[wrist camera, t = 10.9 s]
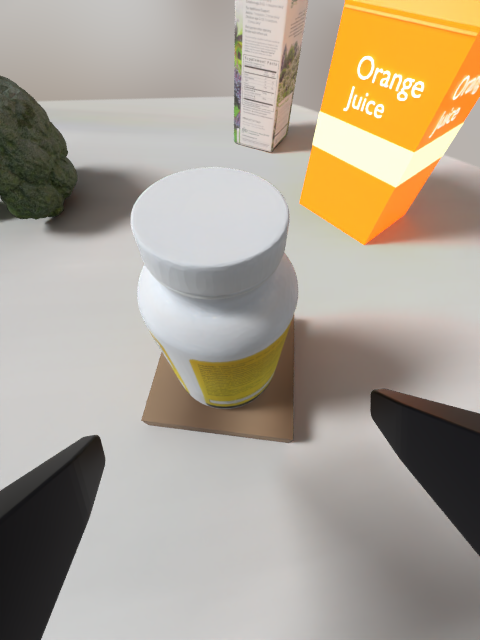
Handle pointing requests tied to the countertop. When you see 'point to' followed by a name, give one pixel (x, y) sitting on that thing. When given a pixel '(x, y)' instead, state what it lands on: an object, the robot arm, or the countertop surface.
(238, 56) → the syrup box
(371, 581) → the countertop surface
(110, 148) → the countertop surface
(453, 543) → the countertop surface
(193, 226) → the pill bottle
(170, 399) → the base tile
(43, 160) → the vegetable
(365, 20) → the orange juice
